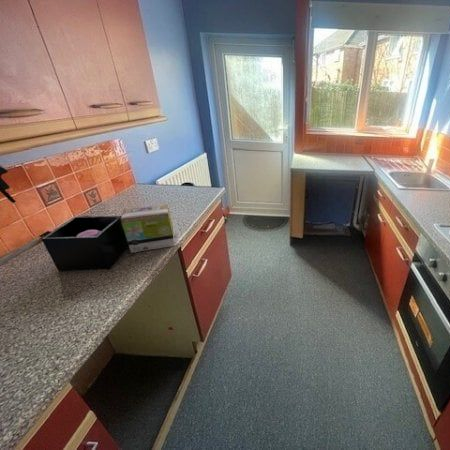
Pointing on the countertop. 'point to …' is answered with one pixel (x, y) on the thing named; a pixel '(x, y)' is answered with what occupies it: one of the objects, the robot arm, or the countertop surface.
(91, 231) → the cupcake
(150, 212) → the tea box
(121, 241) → the waste bin
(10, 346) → the countertop surface
